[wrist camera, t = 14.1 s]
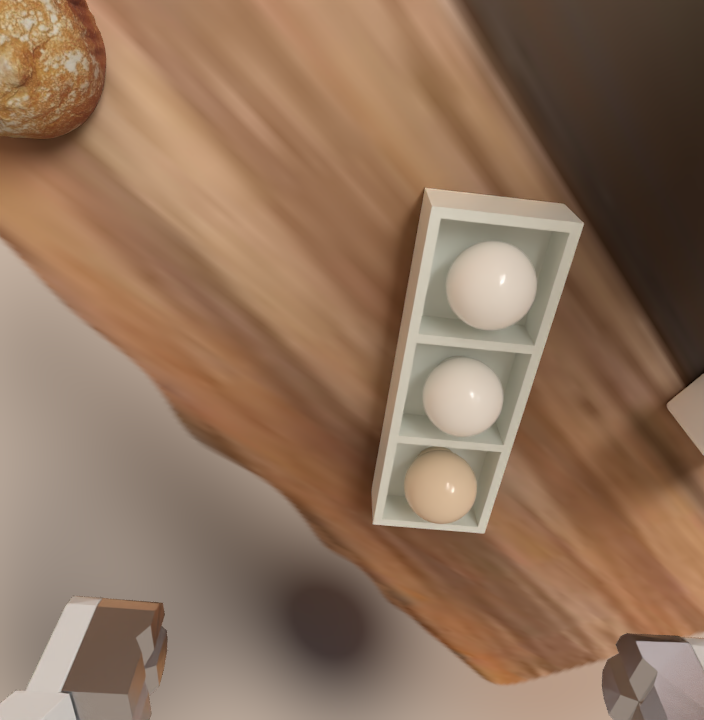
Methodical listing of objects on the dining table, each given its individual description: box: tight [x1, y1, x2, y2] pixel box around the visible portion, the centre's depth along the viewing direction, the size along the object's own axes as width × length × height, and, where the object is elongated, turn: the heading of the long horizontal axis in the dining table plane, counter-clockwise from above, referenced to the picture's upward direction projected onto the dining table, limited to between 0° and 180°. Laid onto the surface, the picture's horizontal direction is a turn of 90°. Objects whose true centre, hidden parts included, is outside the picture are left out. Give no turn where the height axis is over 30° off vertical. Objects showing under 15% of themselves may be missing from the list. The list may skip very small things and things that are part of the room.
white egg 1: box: [446, 241, 537, 330], centre depth 34 cm, size 5×5×5 cm
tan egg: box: [404, 446, 477, 524], centre depth 42 cm, size 5×5×5 cm
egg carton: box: [371, 188, 584, 533], centre depth 39 cm, size 8×23×4 cm, turn 173°
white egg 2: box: [422, 356, 504, 437], centre depth 38 cm, size 5×5×5 cm
